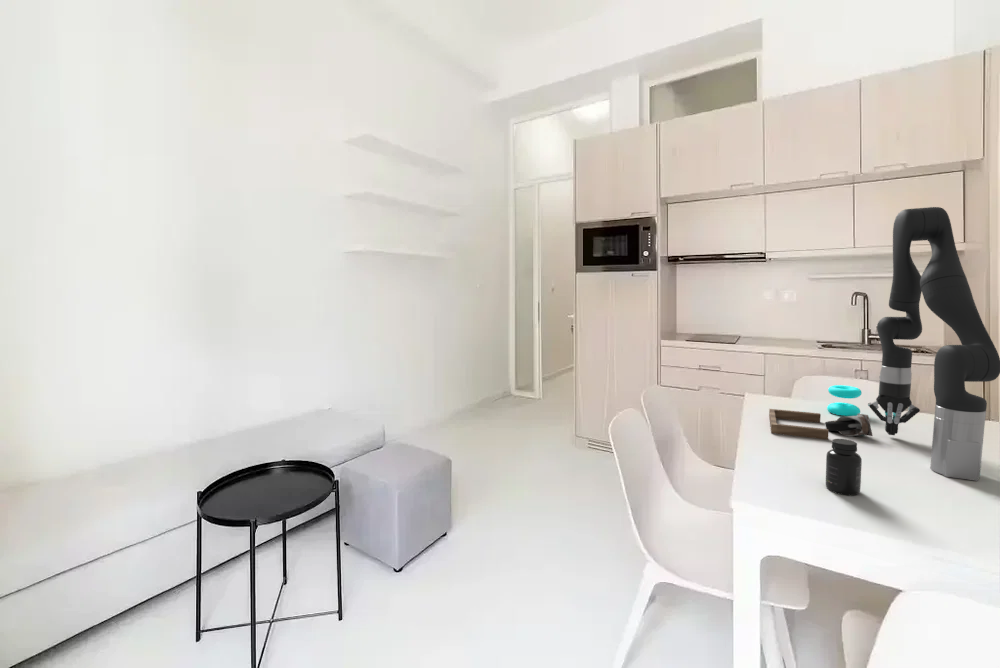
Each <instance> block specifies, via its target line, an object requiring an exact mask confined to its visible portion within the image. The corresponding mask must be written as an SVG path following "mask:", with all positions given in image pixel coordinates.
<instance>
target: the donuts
mask: <svg viewBox="0 0 1000 668" xmlns="http://www.w3.org/2000/svg"><path fill="white" fill-rule="evenodd" d="M827 389H828V393H829V394H830V395H831V396H833V397H836V398H840V399H848V400H849V399H858V398H859V397H860V396H861V395H862V390H861V389H860V388H858V387H856V386H851V385H844V384H842V385H841V384H838V385H837V384H836V385H830V386H829V387H828V388H827ZM826 409H827V411H828V412H829V413H831V414H833V415H835V414H836V415H835V416H840V415H841V416H840V417H847V416H858V414H861V409H860V408H859V407H858V406H857V405H855V404H853V403H849V402H841V401H839V402H838V401H837V402H832V403H828V405H827V407H826Z"/></svg>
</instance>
